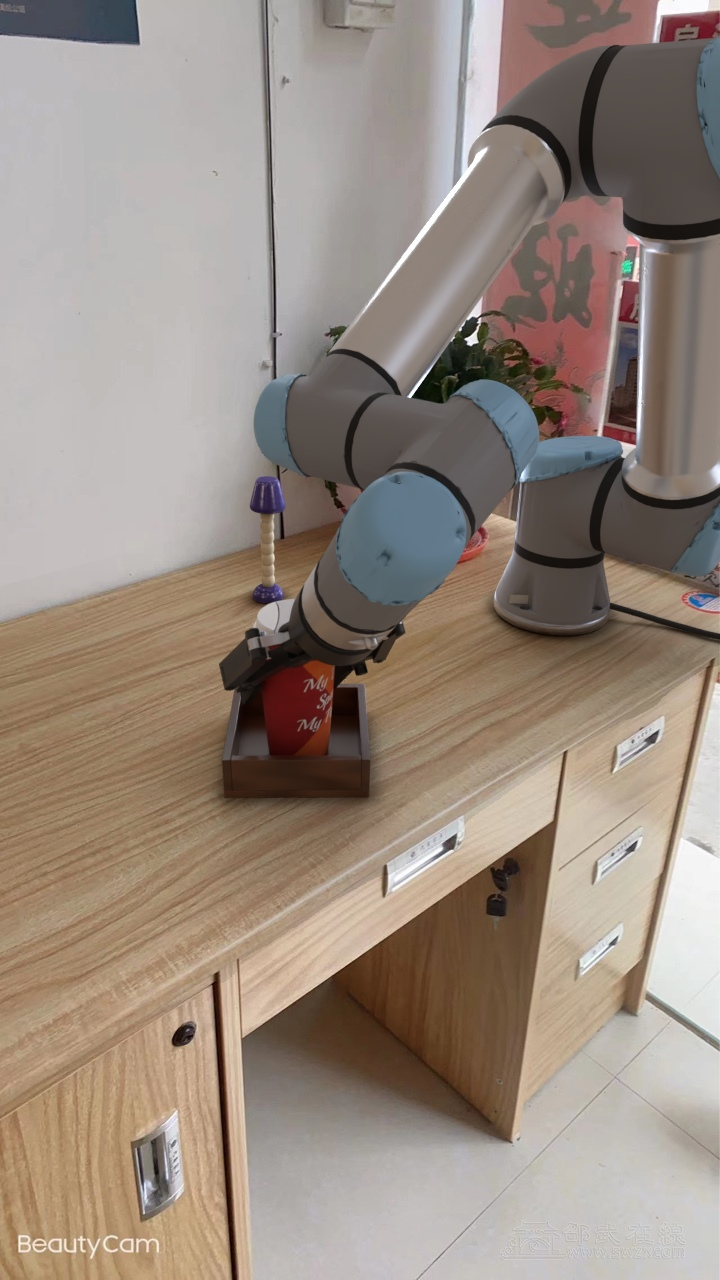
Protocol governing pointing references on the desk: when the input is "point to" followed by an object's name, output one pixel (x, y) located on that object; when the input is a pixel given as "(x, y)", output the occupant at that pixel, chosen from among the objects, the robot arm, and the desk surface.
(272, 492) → the toy lamp
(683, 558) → the robot arm
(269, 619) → the coffee cup
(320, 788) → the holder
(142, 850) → the desk surface
